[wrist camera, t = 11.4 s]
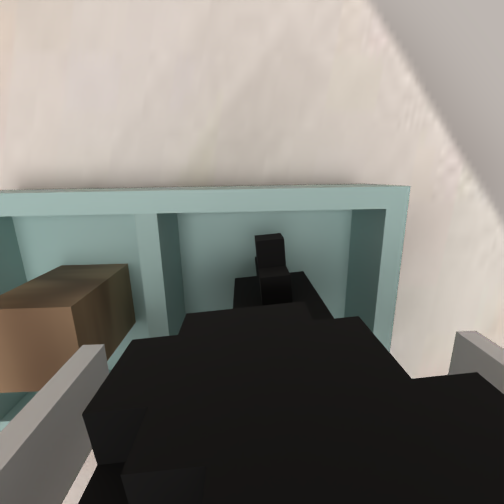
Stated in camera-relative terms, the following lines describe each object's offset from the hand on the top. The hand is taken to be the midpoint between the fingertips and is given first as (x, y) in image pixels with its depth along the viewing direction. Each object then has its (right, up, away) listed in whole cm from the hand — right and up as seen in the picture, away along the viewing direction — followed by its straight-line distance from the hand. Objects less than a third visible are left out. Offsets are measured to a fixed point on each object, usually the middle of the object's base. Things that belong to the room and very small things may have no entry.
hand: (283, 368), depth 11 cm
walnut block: (-11, +2, +7) cm, 13 cm away
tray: (-5, +2, +9) cm, 11 cm away
